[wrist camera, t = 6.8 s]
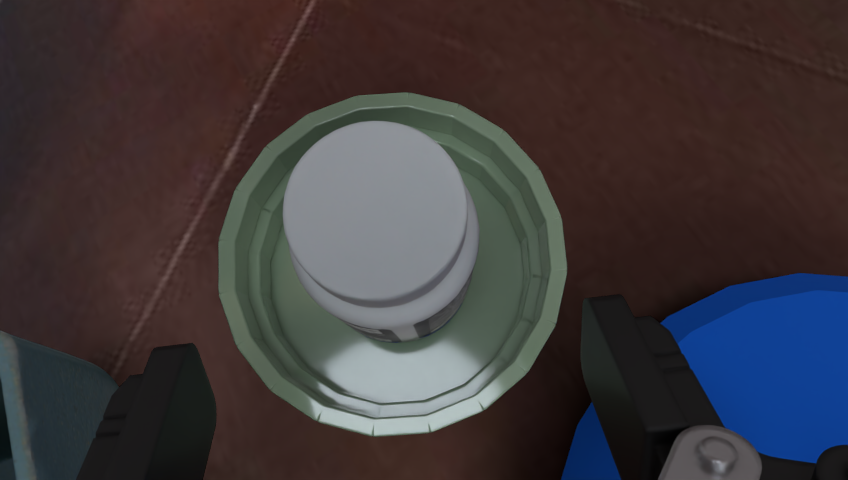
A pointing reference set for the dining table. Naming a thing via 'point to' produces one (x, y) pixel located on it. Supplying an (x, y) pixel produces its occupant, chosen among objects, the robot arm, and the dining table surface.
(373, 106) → the bowl
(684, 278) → the dining table surface
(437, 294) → the pill bottle
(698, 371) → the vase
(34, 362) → the flower pot
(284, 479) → the dining table surface
